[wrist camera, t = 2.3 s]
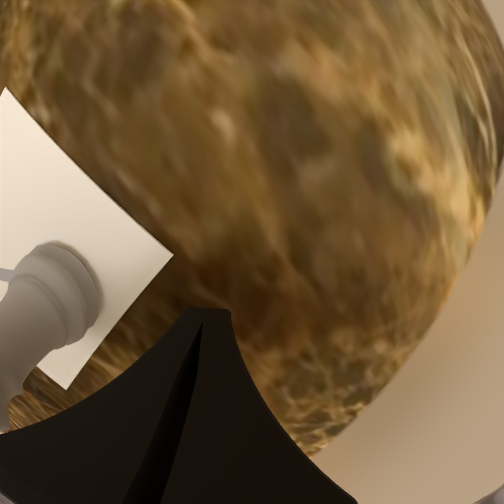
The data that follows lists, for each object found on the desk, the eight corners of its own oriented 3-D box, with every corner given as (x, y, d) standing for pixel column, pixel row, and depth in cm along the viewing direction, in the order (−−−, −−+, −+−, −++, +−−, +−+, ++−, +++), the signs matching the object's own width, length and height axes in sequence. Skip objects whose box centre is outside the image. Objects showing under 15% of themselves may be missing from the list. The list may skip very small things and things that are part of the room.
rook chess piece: (114, 270, 10) (-6, 436, 2) (96, 340, 11) (27, 473, 4) (35, 221, 9) (-99, 319, 1) (29, 296, 10) (-58, 397, 3)
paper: (66, 389, 13) (66, 390, 13) (-41, 274, 10) (-42, 275, 10) (173, 254, 10) (172, 255, 9) (6, 87, 6) (5, 86, 6)
